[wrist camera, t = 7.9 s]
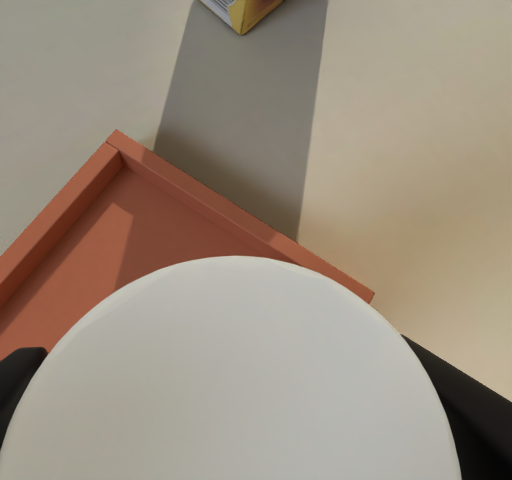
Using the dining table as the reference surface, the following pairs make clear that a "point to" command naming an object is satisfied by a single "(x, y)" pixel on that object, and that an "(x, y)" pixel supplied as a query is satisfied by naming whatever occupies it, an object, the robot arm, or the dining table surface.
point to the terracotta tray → (125, 241)
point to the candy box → (241, 11)
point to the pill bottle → (230, 385)
